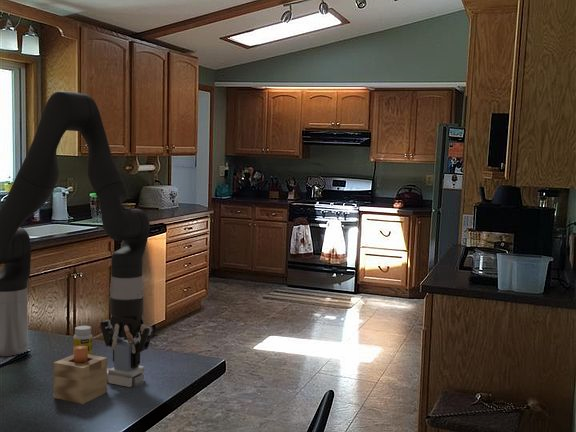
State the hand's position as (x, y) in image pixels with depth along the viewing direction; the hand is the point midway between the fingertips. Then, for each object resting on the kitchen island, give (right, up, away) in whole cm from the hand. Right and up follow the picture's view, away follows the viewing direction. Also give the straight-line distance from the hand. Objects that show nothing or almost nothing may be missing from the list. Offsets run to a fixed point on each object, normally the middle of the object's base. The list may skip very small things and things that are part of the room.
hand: (126, 365), depth 154 cm
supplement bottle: (-15, -2, +16) cm, 23 cm away
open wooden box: (-8, -5, -8) cm, 12 cm away
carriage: (0, -4, 0) cm, 4 cm away
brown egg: (-8, +3, -9) cm, 12 cm away
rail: (-5, -4, +2) cm, 7 cm away
